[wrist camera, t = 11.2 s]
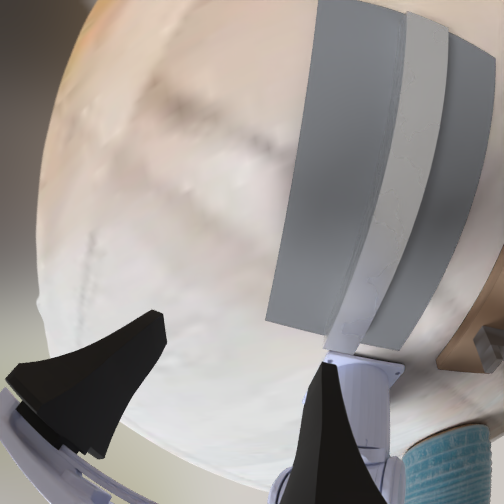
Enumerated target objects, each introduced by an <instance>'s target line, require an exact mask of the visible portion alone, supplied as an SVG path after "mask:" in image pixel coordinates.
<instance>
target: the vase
mask: <svg viewBox="0 0 504 504" xmlns="http://www.w3.org/2000/svg"><path fill="white" fill-rule="evenodd" d="M490 449H491V442H490V430H489V427H488V426H486V425H482V424H466V425H462V426H458V427H454V428H451V429H448V430H445V431H443V432H440V433H437V434H435V435H433V436H430V437H428V438H426V439H424V440H422V441H421V442H419V443H417V444H416V445H414V446H413V447H412V448H411V449H410V450H408V451H407V452H406V453H405V454H404V456H403V457H402V461H403V462H404V465H405V474H406V489H405V500H404V504H490V497H491V472H492V468H491V465H492V461H491V456H492V452H491V450H490Z"/></svg>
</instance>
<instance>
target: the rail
mask: <svg viewBox="0 0 504 504" xmlns="http://www.w3.org/2000/svg"><path fill="white" fill-rule="evenodd" d="M447 64H448V28H447V27H445V26H443V25H441V24H439V23H436V22H434V21H432V20H429V19H427V18H424V17H422V16H419V15H417V14H414V13H411V12H409V11H407V12H406V13H405V15H404V16H403V17H402V19H401V20H400V22H399V23H398V30H397V45H396V57H395V66H394V75H393V83H392V90H391V97H390V104H389V110H388V116H387V121H386V127H385V132H384V137H383V142H382V147H381V151H380V156H379V160H378V165H377V169H376V173H375V177H374V181H373V185H372V189H371V193H370V197H369V200H368V204H367V208H366V211H365V215H364V218H363V222H362V225H361V228H360V232H359V235H358V238H357V241H356V244H355V247H354V250H353V254H352V257H351V260H350V262H349V265H348V268H347V271H346V274H345V277H344V280H343V282H342V285H341V288H340V291H339V293H338V296H337V298H336V301H335V304H334V306H333V309H332V311H331V314H330V316H329V319H328V321H327V324H326V326H325V334H324V343H323V349H327V350H332V351H336V352H341V353H346V354H351V355H354V353H355V351H356V350H357V348H358V346H359V344H360V343H361V341H362V339H363V337H364V335H365V333H366V332H367V330H368V328H369V326H370V324H371V322H372V320H373V318H374V316H375V314H376V312H377V310H378V308H379V306H380V304H381V302H382V300H383V298H384V296H385V294H386V292H387V289H388V287H389V285H390V283H391V281H392V278H393V276H394V274H395V271H396V269H397V267H398V264H399V262H400V259H401V257H402V255H403V252H404V249H405V247H406V244H407V242H408V239H409V236H410V234H411V231H412V228H413V225H414V222H415V219H416V216H417V213H418V210H419V207H420V204H421V201H422V198H423V194H424V191H425V187H426V184H427V180H428V177H429V173H430V169H431V165H432V161H433V157H434V152H435V148H436V143H437V138H438V133H439V128H440V122H441V116H442V110H443V103H444V96H445V87H446V77H447Z"/></svg>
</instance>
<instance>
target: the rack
mask: <svg viewBox="0 0 504 504" xmlns="http://www.w3.org/2000/svg"><path fill="white" fill-rule="evenodd" d="M502 361H504V245H503V248H502V250H501V252H500V255H499V257H498V259H497V261H496V263H495V265H494V268H493V270H492V272H491V274H490V276H489V278H488V280H487V281H486V283H485V285H484V287H483V289H482V291H481V293H480V294H479V296H478V298H477V300H476V301H475V303H474V305H473V306H472V308H471V310H470V311H469V313H468V315H467V316H466V318H465V319H464V321H463V322H462V324H461V326H460V327H459V329H458V330H457V331H456V333H455V334H454V336H453V337H452V339H451V340H450V342H449V343H448V344H447V346H446V347H445V348H444V350H443V351H442V352H441V354H440V355H439V356H438V358H437V359H436V363H437V368H438V369H440V370H449V371H459V372H471V373H485V374H490V373H493V372H494V371H495V369H496V368H497V367H498V366H499V365H500V363H501V362H502Z"/></svg>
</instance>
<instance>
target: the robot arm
mask: <svg viewBox="0 0 504 504" xmlns="http://www.w3.org/2000/svg"><path fill="white" fill-rule="evenodd" d="M166 344H167V338H166V332H165V324H164V317H163V314H162V313H160V312H157V311H155V310H150V311H149V312H147V313H145V314H144V315H142V316H140V317H139V318H137V319H135V320H134V321H132V322H131V323H129V324H127V325H126V326H124V327H122V328H121V329H119V330H117V331H115V332H114V333H112V334H110V335H108V336H107V337H105V338H103V339H101V340H99V341H97V342H95V343H93V344H91V345H89V346H86V347H84V348H82V349H79V350H77V351H74V352H71V353H68V354H65V355H62V356H59V357H55V358H51V359H47V360H42V361H36V362H30V363H19V364H18V365H17V366H16V367H15V368H14V370H13V371H12V372H11V373H10V374H9V375H8V376H7V377H6V378H5V380H6V382H7V383H8V384H9V385H10V387H11V388H12V389H13V390H14V391H15V392H16V394H17V395H18V396H19V397H20V398H21V399H22V402H21V403H20V402H19V401H18V400H17V399H16V398H15V397H14V396H13V394H12V393H11V392H10V391H9V390H8V389H7V388H6V387H5V388H4V389H3V390H2V391H1V392H0V441H1V442H2V444H3V445H4V447H5V448H6V450H7V451H8V453H9V454H10V456H11V457H12V458H13V460H14V461H15V463H16V464H17V465H18V467H19V468H20V469H21V470H22V472H23V473H24V474H25V476H26V477H27V478H28V479H29V480H30V482H31V483H32V484H33V485H34V486H35V488H36V489H37V490H38V491H39V492H40V493H41V494H42V495H43V497H44V498H45V499H46V500H47V501H48V502H49V503H50V504H114V503H112V502H110V499H111V498H112V497H111V495H109V494H108V493H107V492H105V491H104V490H103V489H101V488H100V487H98V486H97V485H95V484H94V483H92V482H90V481H88V480H87V479H85V478H83V477H82V473H83V474H85V475H86V476H87V477H89V478H90V479H91V480H93V481H94V482H96V483H97V484H99V485H100V486H102V487H103V488H105V489H107V490H108V491H110V492H111V493H113V494H115V495H116V496H118V497H120V498H122V499H123V500H125V501H127V502H129V503H130V504H157V503H156V502H154V501H151V500H149V499H147V498H145V497H143V496H141V495H139V494H138V493H136V492H134V491H132V490H130V489H128V488H127V487H125V486H123V485H121V484H120V483H118V482H116V481H115V480H113V479H111V478H110V477H108V476H107V475H105V474H103V473H102V472H101V471H99V470H98V469H96V468H95V467H93V466H92V465H90V464H89V463H87V462H86V461H85V460H83V459H82V458H81V457H79V456H78V455H77V453H78V452H79V451H80V452H81V453H82V454H84V455H86V453H87V452H88V453H89V454H91V455H92V456H94V457H95V458H97V459H104V458H105V455H106V452H107V449H108V446H109V444H110V441H111V439H112V436H113V434H114V432H115V429H116V427H117V425H118V423H119V421H120V419H121V417H122V415H123V413H124V411H125V409H126V407H127V405H128V403H129V401H130V400H131V398H132V396H133V395H134V393H135V392H136V390H137V389H138V388H139V386H140V385H141V383H142V382H143V381H144V379H145V378H146V377H147V375H148V374H149V372H150V371H151V370H152V368H153V367H154V365H155V364H156V362H157V361H158V359H159V357H160V356H161V354H162V352H163V350H164V348H165V346H166ZM329 359H331V360H329ZM404 371H405V366H404V365H403V364H397V363H391V362H385V361H379V360H374V359H368V358H363V357H358V356H353V355H348V354H343V353H339V352H334V351H331V352H328V353H327V355H326V357H325V359H324V361H323V362H322V363H321V365H320V367H319V369H318V371H317V372H316V374H315V376H314V378H313V380H312V382H311V384H310V386H309V388H308V391H307V393H306V394H305V396H304V398H303V400H302V403H303V404H304V408H303V415H302V421H301V428H300V434H299V441H298V446H297V452H296V456H295V460H294V463H293V466H292V467H289V468H286V469H285V470H284V471H282V472H281V473H280V475H279V476H278V477H277V478H276V480H275V481H274V483H273V484H272V487H271V489H270V492H269V496H268V504H404V500H405V489H406V474H405V465H404V462H403V461H402V460H400V459H399V458H398V457H397V456H393V457H390V455H389V452H390V398H389V389H390V388H391V386H392V385H393V384H394V383H395V382H396V380H397V379H398V378H399V377H400V376H401V374H402V373H403V372H404Z"/></svg>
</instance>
